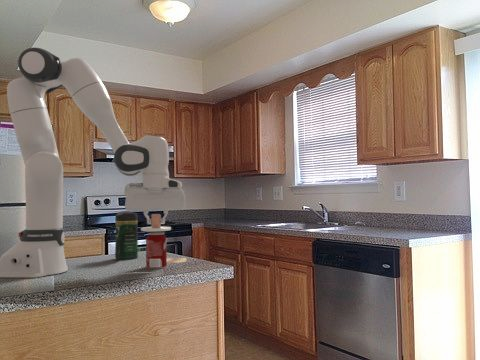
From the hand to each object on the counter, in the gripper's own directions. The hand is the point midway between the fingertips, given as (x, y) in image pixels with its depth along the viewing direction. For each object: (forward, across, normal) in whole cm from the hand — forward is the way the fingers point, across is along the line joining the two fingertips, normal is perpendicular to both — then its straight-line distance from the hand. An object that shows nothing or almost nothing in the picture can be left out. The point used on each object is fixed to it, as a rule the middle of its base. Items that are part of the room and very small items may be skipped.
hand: (156, 223), depth 144 cm
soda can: (+15, 0, 0) cm, 15 cm away
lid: (+2, 0, 0) cm, 2 cm away
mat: (+15, +5, +13) cm, 21 cm away
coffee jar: (+15, -13, +23) cm, 30 cm away
